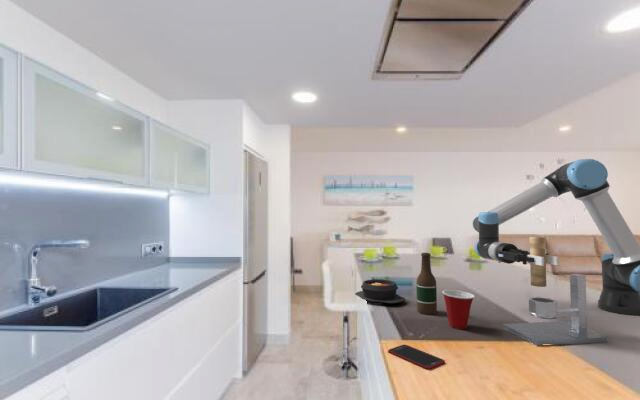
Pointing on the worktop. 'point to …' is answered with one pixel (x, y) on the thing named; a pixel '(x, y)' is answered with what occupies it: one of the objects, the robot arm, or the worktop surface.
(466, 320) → the plastic cup
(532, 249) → the brown wooden cylinder
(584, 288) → the cup bracket
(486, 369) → the worktop surface
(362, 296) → the casserole
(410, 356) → the cell phone
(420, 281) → the beer bottle
